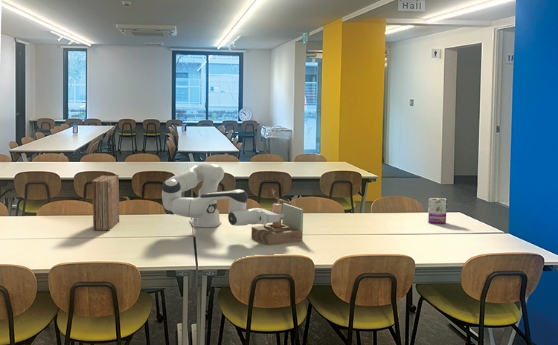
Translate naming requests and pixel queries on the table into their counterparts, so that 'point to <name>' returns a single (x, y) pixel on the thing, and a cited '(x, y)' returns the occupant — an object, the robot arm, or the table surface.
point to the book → (105, 202)
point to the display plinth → (282, 228)
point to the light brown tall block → (278, 210)
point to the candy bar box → (437, 210)
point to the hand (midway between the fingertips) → (278, 213)
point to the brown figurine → (280, 200)
